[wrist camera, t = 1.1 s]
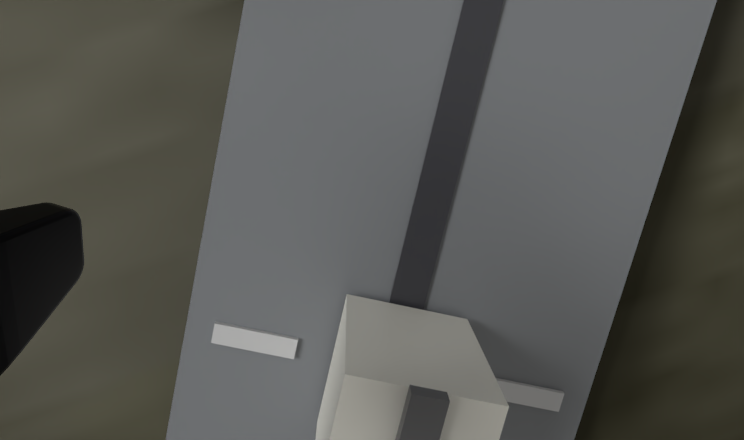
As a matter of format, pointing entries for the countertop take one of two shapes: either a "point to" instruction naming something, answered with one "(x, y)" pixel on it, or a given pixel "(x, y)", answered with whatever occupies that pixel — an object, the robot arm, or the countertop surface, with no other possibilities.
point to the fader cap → (408, 378)
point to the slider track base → (428, 194)
